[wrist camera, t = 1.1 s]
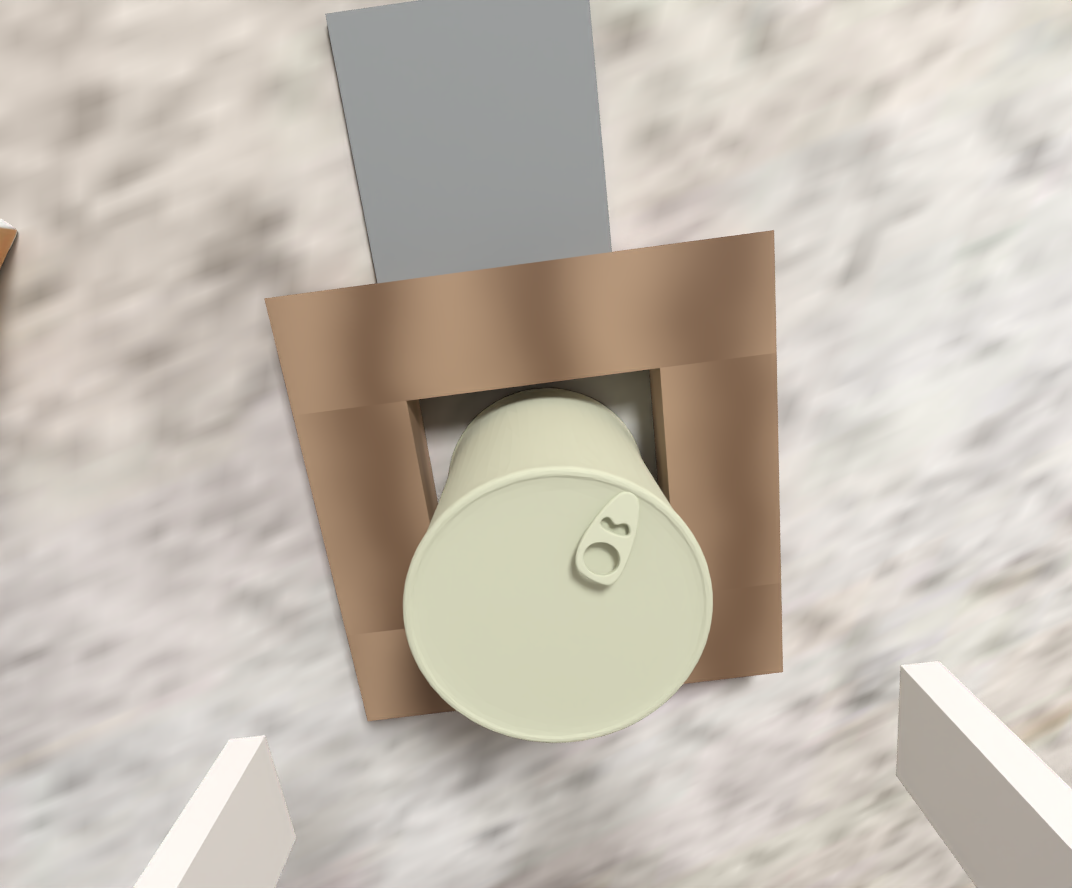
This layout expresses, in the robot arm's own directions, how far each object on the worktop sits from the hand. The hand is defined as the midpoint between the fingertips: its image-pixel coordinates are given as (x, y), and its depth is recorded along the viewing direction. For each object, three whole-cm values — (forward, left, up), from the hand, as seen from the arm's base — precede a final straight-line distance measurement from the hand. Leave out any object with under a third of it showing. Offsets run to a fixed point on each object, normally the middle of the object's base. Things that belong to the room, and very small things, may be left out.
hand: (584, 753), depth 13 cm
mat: (-1, +15, -17) cm, 22 cm away
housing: (0, 0, -17) cm, 17 cm away
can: (0, 0, -17) cm, 17 cm away
